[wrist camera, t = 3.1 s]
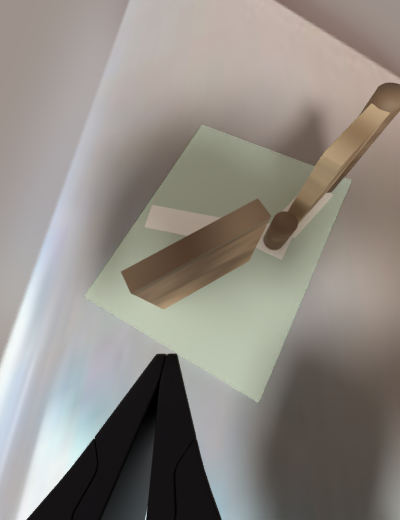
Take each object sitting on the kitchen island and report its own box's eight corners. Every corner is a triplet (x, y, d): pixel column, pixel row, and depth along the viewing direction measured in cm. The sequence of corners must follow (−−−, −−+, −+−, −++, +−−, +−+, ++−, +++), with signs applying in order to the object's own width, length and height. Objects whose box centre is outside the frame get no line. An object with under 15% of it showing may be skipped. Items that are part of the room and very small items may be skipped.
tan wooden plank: (241, 249, 19) (257, 198, 12) (249, 261, 19) (271, 216, 12) (157, 296, 19) (120, 271, 11) (163, 309, 18) (130, 293, 11)
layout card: (349, 182, 22) (352, 179, 21) (257, 401, 17) (258, 403, 16) (202, 127, 25) (202, 123, 24) (86, 297, 20) (83, 296, 19)
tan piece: (338, 184, 21) (416, 92, 13) (275, 254, 20) (319, 197, 11) (321, 174, 22) (386, 78, 14) (258, 241, 20) (289, 177, 12)
